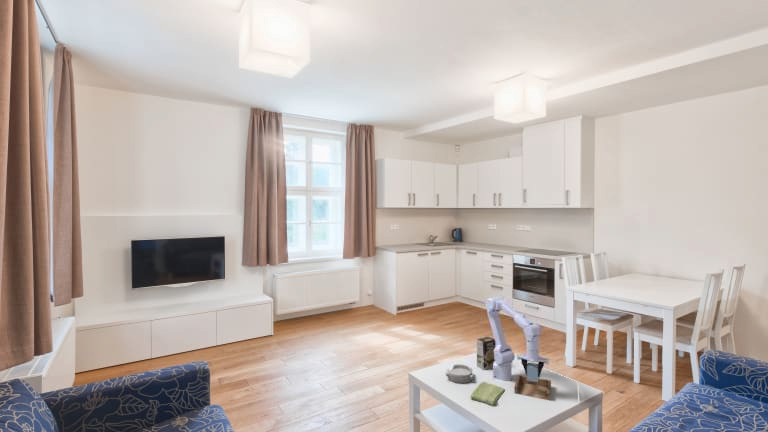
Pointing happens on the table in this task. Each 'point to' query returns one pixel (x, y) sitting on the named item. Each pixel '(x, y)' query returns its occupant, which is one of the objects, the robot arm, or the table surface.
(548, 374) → the table surface
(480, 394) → the washcloth
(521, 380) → the walnut crate
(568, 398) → the table surface
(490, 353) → the coffee box
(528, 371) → the slate block
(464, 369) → the dish
